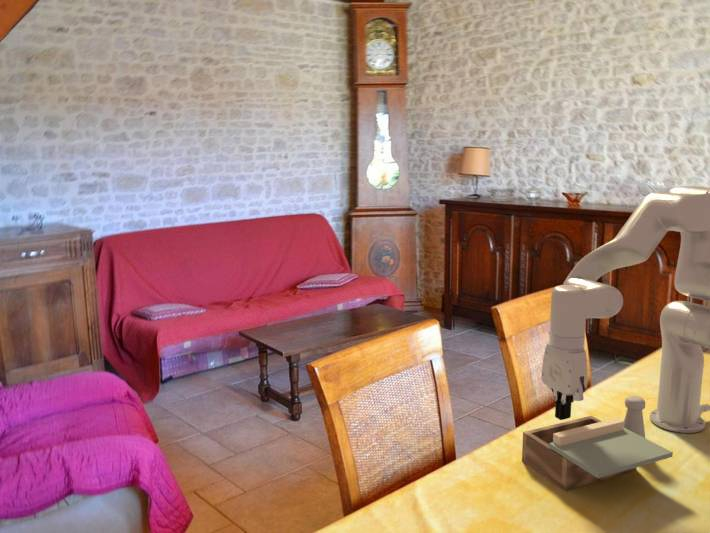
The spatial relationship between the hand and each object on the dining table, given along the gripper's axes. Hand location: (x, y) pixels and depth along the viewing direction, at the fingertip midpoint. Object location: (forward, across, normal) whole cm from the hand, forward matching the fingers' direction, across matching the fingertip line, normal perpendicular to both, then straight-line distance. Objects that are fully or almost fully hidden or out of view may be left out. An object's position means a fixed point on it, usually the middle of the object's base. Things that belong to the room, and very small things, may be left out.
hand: (562, 417), depth 146 cm
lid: (+2, +14, 0) cm, 14 cm away
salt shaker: (+9, +6, +16) cm, 19 cm away
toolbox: (+9, +6, 0) cm, 11 cm away
